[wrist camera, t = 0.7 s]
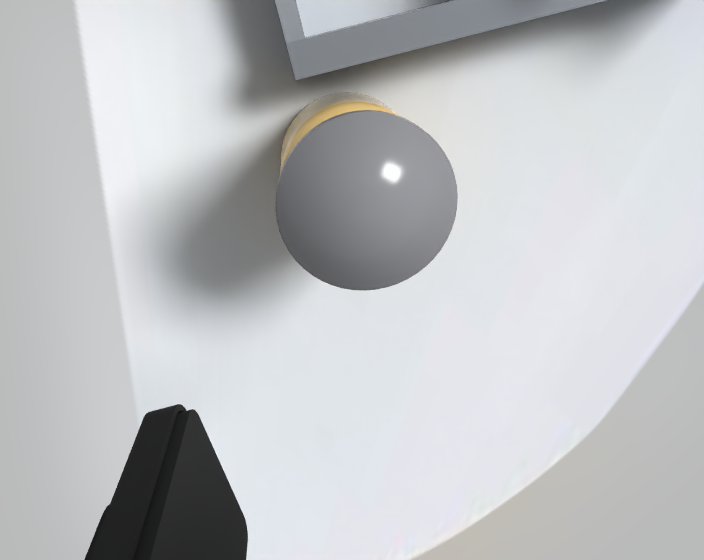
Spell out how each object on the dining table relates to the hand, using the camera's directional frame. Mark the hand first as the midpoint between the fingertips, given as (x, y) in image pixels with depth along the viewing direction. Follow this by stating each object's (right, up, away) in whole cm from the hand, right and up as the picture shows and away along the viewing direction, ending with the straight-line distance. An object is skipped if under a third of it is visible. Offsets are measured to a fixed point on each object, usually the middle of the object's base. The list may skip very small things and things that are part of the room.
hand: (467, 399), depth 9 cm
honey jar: (-2, +8, +17) cm, 19 cm away
